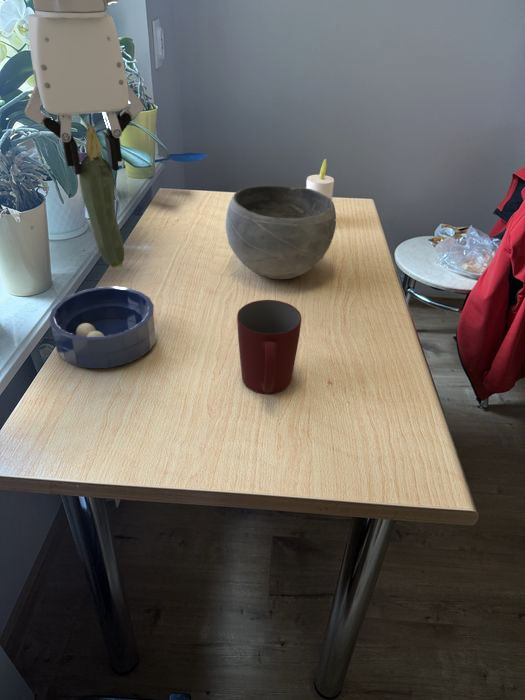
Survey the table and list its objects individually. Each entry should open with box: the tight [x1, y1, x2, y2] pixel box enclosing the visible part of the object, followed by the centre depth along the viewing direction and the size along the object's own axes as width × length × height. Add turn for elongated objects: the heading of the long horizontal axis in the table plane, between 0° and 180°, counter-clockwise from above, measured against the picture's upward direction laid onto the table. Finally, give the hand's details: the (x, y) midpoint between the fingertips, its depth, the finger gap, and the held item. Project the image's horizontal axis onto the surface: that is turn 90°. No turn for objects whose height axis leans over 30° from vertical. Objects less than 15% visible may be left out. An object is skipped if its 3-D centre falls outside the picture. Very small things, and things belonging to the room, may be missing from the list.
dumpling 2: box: [87, 331, 104, 337], centre depth 82 cm, size 3×3×3 cm
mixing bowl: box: [48, 286, 158, 369], centre depth 84 cm, size 16×16×6 cm
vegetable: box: [78, 122, 125, 270], centre depth 71 cm, size 4×4×20 cm
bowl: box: [225, 184, 337, 280], centre depth 104 cm, size 21×21×15 cm
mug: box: [236, 299, 302, 395], centre depth 75 cm, size 12×9×11 cm
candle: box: [305, 158, 335, 201], centre depth 125 cm, size 6×6×15 cm
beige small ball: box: [76, 323, 96, 337], centre depth 84 cm, size 3×3×3 cm
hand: (95, 168), depth 68 cm, fingers closed on vegetable, 4 cm apart
